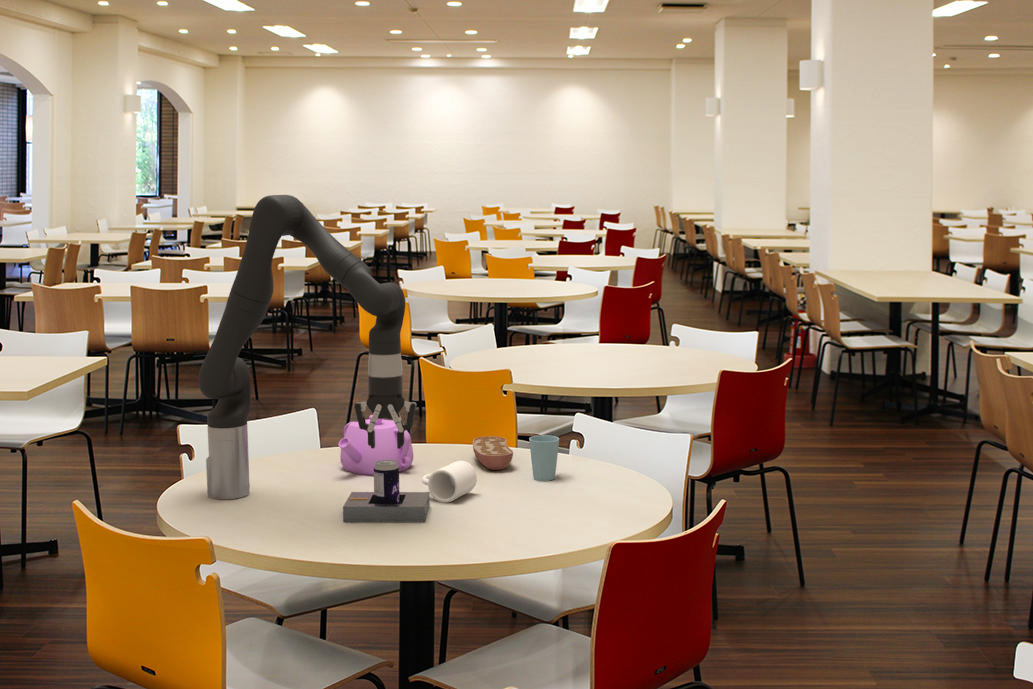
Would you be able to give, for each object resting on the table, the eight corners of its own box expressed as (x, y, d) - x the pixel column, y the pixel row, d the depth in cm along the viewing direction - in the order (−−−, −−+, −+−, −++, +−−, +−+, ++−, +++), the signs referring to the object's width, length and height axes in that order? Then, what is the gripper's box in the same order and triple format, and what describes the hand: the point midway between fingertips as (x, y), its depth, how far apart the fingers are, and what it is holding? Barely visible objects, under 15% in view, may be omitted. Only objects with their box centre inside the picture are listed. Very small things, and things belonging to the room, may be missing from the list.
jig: (343, 522, 235) (342, 505, 235) (351, 506, 247) (351, 491, 247) (424, 522, 235) (424, 505, 235) (429, 506, 247) (429, 491, 247)
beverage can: (395, 518, 238) (394, 466, 236) (371, 517, 239) (370, 464, 238) (402, 511, 244) (402, 460, 242) (379, 510, 245) (378, 458, 243)
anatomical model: (515, 473, 278) (515, 454, 278) (477, 474, 277) (477, 456, 276) (504, 453, 301) (504, 435, 300) (469, 454, 299) (469, 436, 299)
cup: (533, 482, 268) (533, 442, 267) (525, 475, 276) (526, 435, 274) (562, 481, 270) (562, 440, 269) (554, 473, 277) (554, 434, 276)
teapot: (412, 458, 294) (411, 407, 292) (414, 478, 273) (413, 423, 271) (342, 461, 292) (340, 409, 290) (339, 480, 271) (337, 425, 269)
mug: (477, 494, 258) (477, 462, 257) (457, 504, 249) (457, 471, 248) (433, 488, 263) (433, 457, 262) (413, 499, 254) (412, 466, 253)
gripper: (350, 375, 233) (351, 451, 236) (415, 376, 233) (416, 451, 235) (355, 370, 241) (356, 444, 243) (419, 370, 241) (420, 444, 243)
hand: (386, 447), depth 239 cm, fingers open, 5 cm apart
